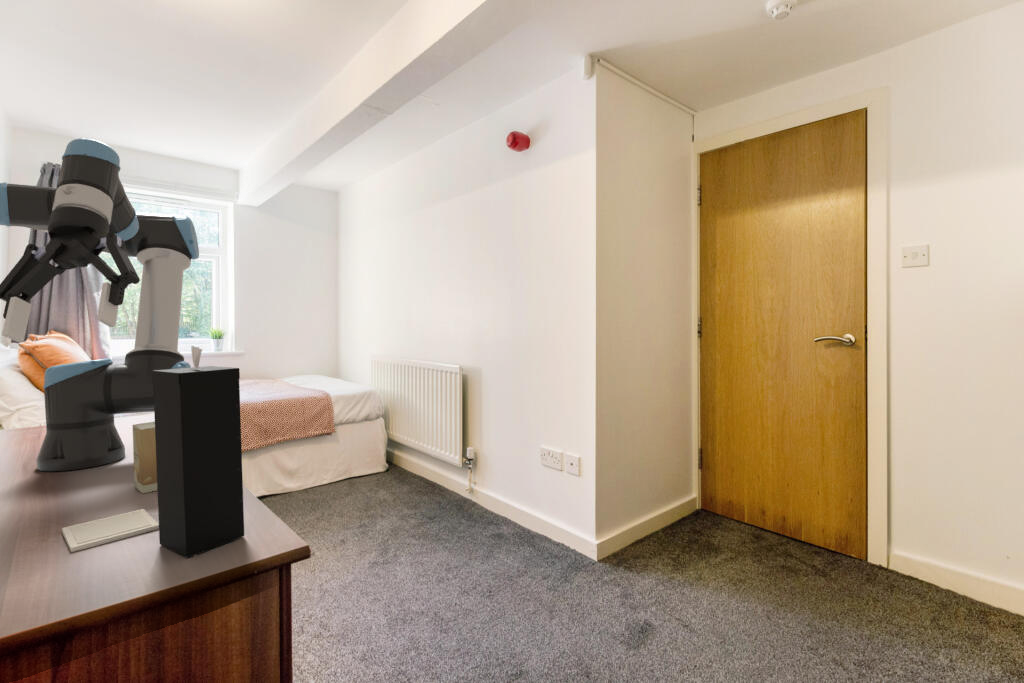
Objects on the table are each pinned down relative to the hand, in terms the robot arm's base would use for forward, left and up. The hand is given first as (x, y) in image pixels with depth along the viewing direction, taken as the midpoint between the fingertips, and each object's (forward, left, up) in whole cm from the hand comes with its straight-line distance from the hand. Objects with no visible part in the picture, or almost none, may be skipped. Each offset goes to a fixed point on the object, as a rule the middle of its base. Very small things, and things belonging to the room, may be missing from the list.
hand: (59, 331), depth 74 cm
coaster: (+7, +4, -30) cm, 31 cm away
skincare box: (-12, +13, -31) cm, 35 cm away
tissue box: (+22, +12, -30) cm, 39 cm away
